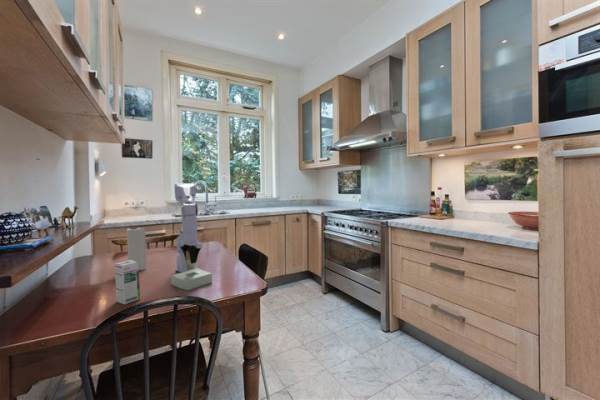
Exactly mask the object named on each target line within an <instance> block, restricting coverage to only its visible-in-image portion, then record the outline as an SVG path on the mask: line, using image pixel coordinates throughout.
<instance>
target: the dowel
mask: <svg viewBox="0 0 600 400" xmlns="http://www.w3.org/2000/svg"><path fill="white" fill-rule="evenodd" d="M186 262H187V269H188V270H191V269H194V268H195V263H193V264H191V261H190V255H189V252H188V250H186Z"/></svg>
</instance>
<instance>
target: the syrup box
mask: <svg viewBox="0 0 600 400" xmlns="http://www.w3.org/2000/svg"><path fill="white" fill-rule="evenodd" d="M114 275H115V279H114V280H115V291H116V293H115V294H116V302H117V303H119V304H123V305H127V304H130V303H132V302H133V303H134V302H136V301H139V300H141V287H140V270H139V267H138V262H137V261H134V260H129V261H128V260H126V261H121V262H117V263H114Z"/></svg>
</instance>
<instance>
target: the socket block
mask: <svg viewBox="0 0 600 400" xmlns="http://www.w3.org/2000/svg"><path fill="white" fill-rule="evenodd" d="M197 268H198V267H196V269H192V270H189V271H185V272H178V273H174V274H171V275H170V278H171V285H172V286H174V287H176V288H179V289H180V290H181V289H182V290H184V291H186V290H187V291H190V290H192V289H196V288H198V287H201V286H205V285H207V284H211V283H213V275H212V274H213V273H212V272H209V271H206V270H202V269H200V268H199V269H197Z"/></svg>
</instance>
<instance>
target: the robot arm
mask: <svg viewBox="0 0 600 400" xmlns="http://www.w3.org/2000/svg"><path fill="white" fill-rule="evenodd" d="M196 185H197V184H196V183H194V182H193V183H176V182H175V183H174V198H175V201H176V202H178V203H179V205H180V211H181V212H180V214H181V230H182V231H181V232H182V234H180V235H179V236H178V237H177V238H176V252H177V256H176V269H175V271H177V272H178V273H182V272H185V271H189V270H188V269H187V262H186V250H188V252H189V255H190V261H191V264H193V263H195V268H194V269H196V268H197V269H200V268H199V267H197V261H198V257H199V254H200V251H201V249H202V248H203V242H201V241H199V240H198V215H199V206H198V204H197V202H196V201H195V200H196V194H197V187H196ZM191 270H192V269H191Z"/></svg>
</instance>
